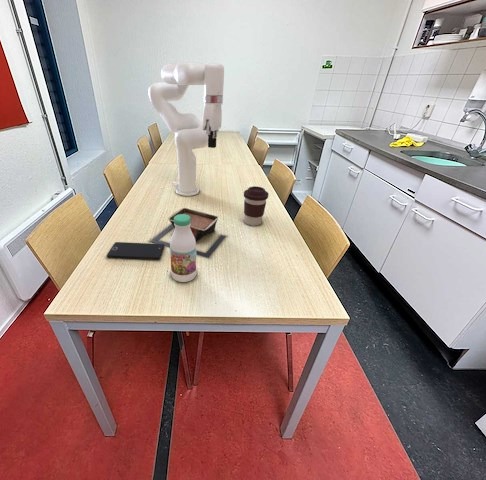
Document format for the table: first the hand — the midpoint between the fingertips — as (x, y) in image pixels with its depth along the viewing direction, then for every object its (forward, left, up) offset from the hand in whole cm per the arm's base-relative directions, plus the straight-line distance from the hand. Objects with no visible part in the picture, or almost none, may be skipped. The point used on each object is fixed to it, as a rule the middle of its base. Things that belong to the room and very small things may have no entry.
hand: (212, 147), depth 118 cm
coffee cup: (+24, -9, -27) cm, 37 cm away
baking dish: (+6, -29, -27) cm, 40 cm away
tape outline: (+6, -33, -27) cm, 43 cm away
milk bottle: (+15, -54, -27) cm, 62 cm away
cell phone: (-6, -50, -27) cm, 57 cm away
